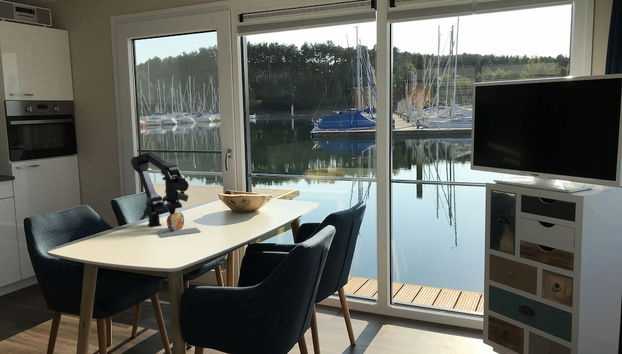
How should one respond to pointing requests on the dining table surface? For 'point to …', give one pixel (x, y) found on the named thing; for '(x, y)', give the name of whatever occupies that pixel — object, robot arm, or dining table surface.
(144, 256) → the dining table surface
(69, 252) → the dining table surface
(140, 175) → the robot arm
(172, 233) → the mat
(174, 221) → the tin
